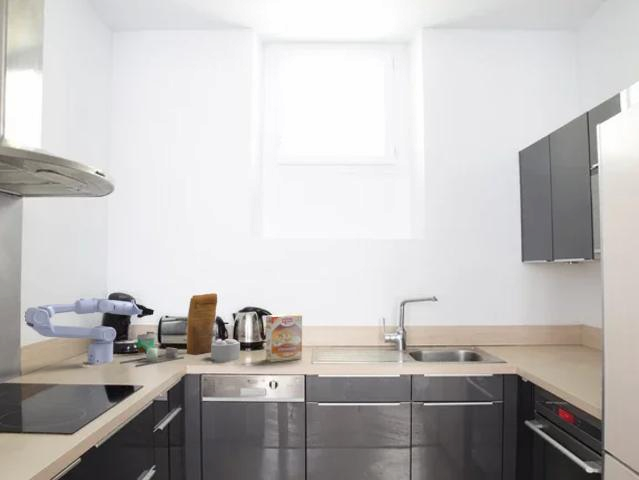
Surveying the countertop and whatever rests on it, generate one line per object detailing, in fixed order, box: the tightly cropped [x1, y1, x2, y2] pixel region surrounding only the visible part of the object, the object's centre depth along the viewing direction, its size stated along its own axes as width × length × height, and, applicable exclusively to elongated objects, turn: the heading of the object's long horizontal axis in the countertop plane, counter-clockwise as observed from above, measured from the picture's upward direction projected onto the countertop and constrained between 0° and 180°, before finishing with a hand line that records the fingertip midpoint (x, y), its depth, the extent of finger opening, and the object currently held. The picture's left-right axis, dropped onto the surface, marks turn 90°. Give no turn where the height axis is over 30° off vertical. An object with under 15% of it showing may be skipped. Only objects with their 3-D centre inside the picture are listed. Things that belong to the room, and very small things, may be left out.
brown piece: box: [138, 347, 178, 363], centre depth 214 cm, size 15×9×5 cm, turn 144°
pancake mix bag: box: [186, 293, 218, 356], centre depth 238 cm, size 7×19×28 cm, turn 145°
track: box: [119, 353, 185, 368], centre depth 212 cm, size 23×12×2 cm, turn 144°
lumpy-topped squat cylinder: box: [210, 338, 241, 363], centre depth 221 cm, size 10×13×9 cm
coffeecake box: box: [265, 313, 303, 363], centre depth 221 cm, size 15×7×20 cm, turn 118°
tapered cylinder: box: [145, 347, 159, 362], centre depth 212 cm, size 4×4×5 cm
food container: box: [136, 331, 157, 355], centre depth 232 cm, size 12×6×10 cm, turn 179°
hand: (148, 310), depth 227 cm, fingers open, 7 cm apart
